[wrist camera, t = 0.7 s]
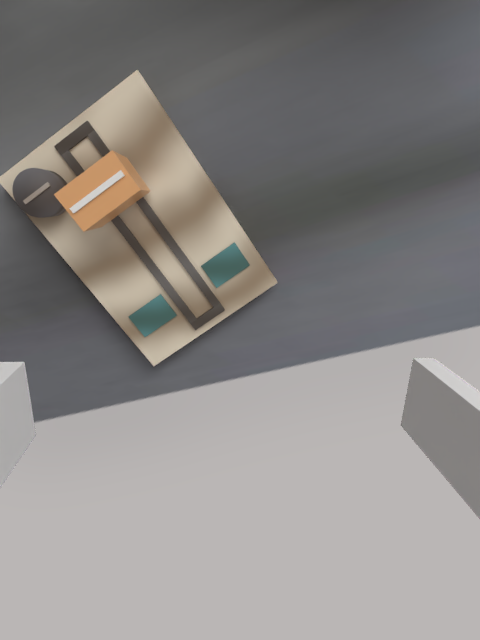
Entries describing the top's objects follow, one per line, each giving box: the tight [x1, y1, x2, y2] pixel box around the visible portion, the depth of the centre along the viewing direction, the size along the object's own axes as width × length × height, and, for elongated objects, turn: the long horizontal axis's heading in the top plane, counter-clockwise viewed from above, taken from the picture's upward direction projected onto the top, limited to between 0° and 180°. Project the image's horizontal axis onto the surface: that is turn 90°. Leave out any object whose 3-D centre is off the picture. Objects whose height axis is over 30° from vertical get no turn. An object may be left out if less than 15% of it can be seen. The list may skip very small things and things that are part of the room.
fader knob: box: [54, 150, 150, 232], centre depth 29 cm, size 3×5×5 cm, turn 124°
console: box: [0, 70, 278, 366], centre depth 33 cm, size 20×14×4 cm
